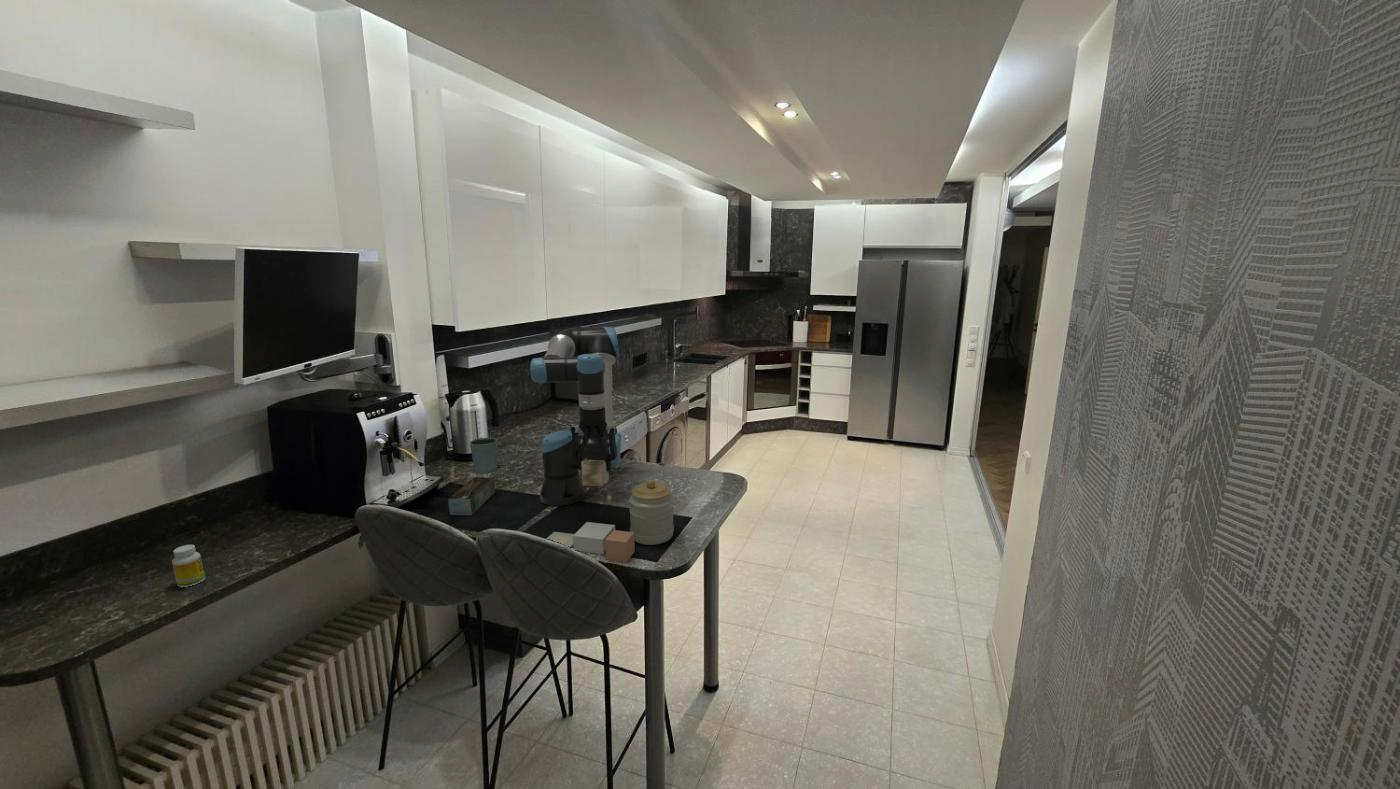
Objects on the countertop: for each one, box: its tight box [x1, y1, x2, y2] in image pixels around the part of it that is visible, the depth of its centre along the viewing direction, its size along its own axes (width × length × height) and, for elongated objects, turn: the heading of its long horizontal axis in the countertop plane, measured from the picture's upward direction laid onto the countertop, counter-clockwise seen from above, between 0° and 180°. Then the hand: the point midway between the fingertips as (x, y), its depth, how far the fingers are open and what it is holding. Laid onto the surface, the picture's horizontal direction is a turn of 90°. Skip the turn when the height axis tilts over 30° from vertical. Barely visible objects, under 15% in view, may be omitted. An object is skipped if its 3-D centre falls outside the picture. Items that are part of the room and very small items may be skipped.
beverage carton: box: [447, 476, 496, 516], centre depth 188 cm, size 8×19×7 cm, turn 177°
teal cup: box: [469, 437, 498, 475], centre depth 219 cm, size 10×10×12 cm
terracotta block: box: [605, 529, 636, 563], centre depth 153 cm, size 6×6×6 cm
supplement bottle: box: [171, 544, 206, 588], centre depth 140 cm, size 5×5×10 cm
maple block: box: [581, 460, 606, 487], centre depth 167 cm, size 6×6×6 cm
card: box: [546, 531, 575, 548], centre depth 161 cm, size 9×9×1 cm
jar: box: [628, 479, 675, 546], centre depth 164 cm, size 13×13×18 cm
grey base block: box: [573, 521, 616, 555], centre depth 159 cm, size 9×9×4 cm
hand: (595, 480), depth 168 cm, fingers closed on maple block, 6 cm apart
